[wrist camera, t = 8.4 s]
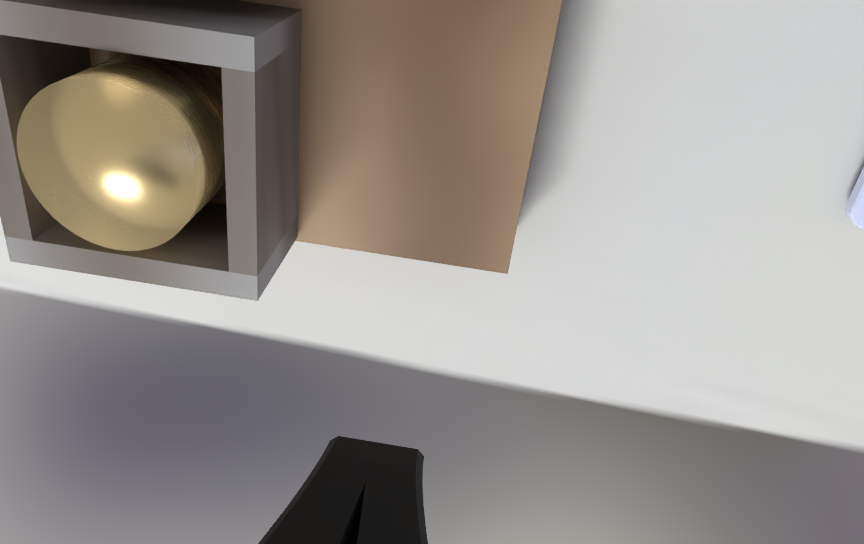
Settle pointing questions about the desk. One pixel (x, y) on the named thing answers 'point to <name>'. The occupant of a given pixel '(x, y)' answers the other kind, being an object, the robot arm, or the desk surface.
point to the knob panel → (305, 128)
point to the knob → (126, 149)
